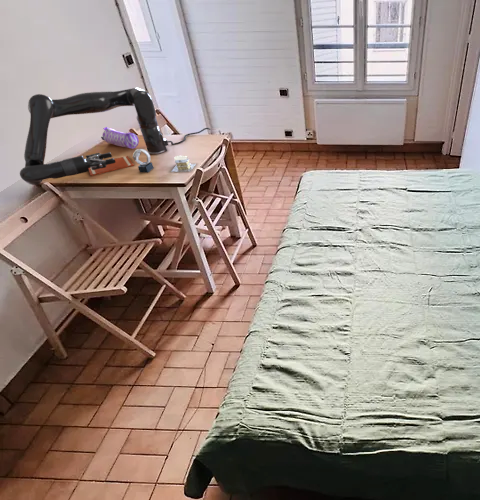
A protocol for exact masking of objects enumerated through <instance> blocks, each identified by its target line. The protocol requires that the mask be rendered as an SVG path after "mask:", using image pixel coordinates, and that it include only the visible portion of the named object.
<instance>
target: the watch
mask: <svg viewBox="0 0 480 500" xmlns="http://www.w3.org/2000/svg"><path fill="white" fill-rule="evenodd" d="M142 153H143V154H144V155H145V156H146V161H141V160H140V156H141V154H142ZM151 157H152V156H151V154H149V153H148V151H147V149H144V148H137V149H135V150H134V152H133V154H132V158H133V160H134V161H135V162H136V163H137V164H138V166H137V169H138V171H139V173H144V174H146V173H147V174H148V173H150V172H151V171H152V170H153V169H154V165H153V162H152V161H151Z"/></svg>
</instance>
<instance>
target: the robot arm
mask: <svg viewBox="0 0 480 500" xmlns="http://www.w3.org/2000/svg"><path fill="white" fill-rule="evenodd" d="M120 107H134V108H135V112H136V121H137V124H138V126H139V129H140V133H141V135H142V138H143V141H144V144H145V147H146V151H147V153H149V154H150V155H160V154H163V153H165V152H168V148H167V146H169V143H170V144H171V146H176V145H179V144H181V143H184V142H185V141H186V139H187V137H188V136H191V135H197V134H200V133H202V132H204V131H206V130H209V131H211V128H209V127H204V128H203V129H201V130H199V131H196V132H190V133H187V134H185V135H184V136H183V139H182V140H180V141H178V142H175V143H174V142H173V141H172V140H167V139H166V137H164V136H163V134H162V133H161V128H160V126H159V123H158V120H157V116H156V115H157V114H156V112H157V111H156V108H155V105H154V101H153V99H152V96H151V94H150V93H149V92H148V91H146V90H144V89H142V88H139V87H132V88H128V89H122V90H117V91H91V92H82V93H78V94H75V95H71V96H68V97H64V98H58V99H51V98H50V97H49V96H47V95H45V94H41V93H38V94H34V95H32V96H31V97H30V98H29V99H28V102H27V110H28V112H29V114H30V117H29V119H30V121H29V127H28V133H27V136H26V142H25V147H24V154H23V158H24V161H25V163H24V167H23V168H22V169H20V171H19V176H20V178H21V179H22V180H23V181H24V182H25V183H27V184H29V185H32V186H36V185H40V184H41V183H42V182H43V181H44V180H49V179H53V180H55V179H60V178H65V177H72V176H76V175H81V174H86V173H89V169H88V168H91V169H92V170H96V169H100V168H105V167H106V166H107V165H108V164H113V163H115V159H116V158H114V157H113V154H112V153H111V152H105V153H100V152H96V153H91V154H88V155H85V157H86V158H85V157H84V155H78V156H74V157H69V158H65V159H62V160H58V161H57V160H56V161H53V162H49V163H45V159H46V154H47V153H46V152H47V145H48V144H47V143H48V142H47V141H48V131H49V125H50V121H51V119H55V118H61V117H64V116H71V115H85V114H86V115H87V114H97V113H104V112H108V111H112V110H114V109H116V108H120Z"/></svg>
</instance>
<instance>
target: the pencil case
mask: <svg viewBox="0 0 480 500" xmlns="http://www.w3.org/2000/svg"><path fill="white" fill-rule="evenodd" d="M102 130H103V132H102V136H101V137H100V139H101V140H102V141H104V142H106V143H107V144H111V145H114V146H117V147H122V148H127V149H130V150H132V149H136V148H137V147H138V146H139V144H140V143H139V142H140V140H139V137H138V136H137V134H136V133H133V132H130V131H129V132H122V131H118V130H115V129H114V128H110V127H108V126H105V127H104V128H103V129H102Z"/></svg>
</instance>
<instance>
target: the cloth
mask: <svg viewBox="0 0 480 500" xmlns="http://www.w3.org/2000/svg"><path fill="white" fill-rule="evenodd" d="M129 157H130V156H128V155H125V156H122V157H121V156H120V157H117V158H114V159H115V163H113V164H108V165H107V166H106V167H105V168H100V169H96V170H92V169H91V168H88V169H89V172H88V173H89V175H90V177H93V176H97V175H101V174H105V173H109V172H113V171H117V170H121V169H125V168H130V167H134V166H135V165H134V163H133V162H132V160H131V159H130V158H129Z"/></svg>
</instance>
